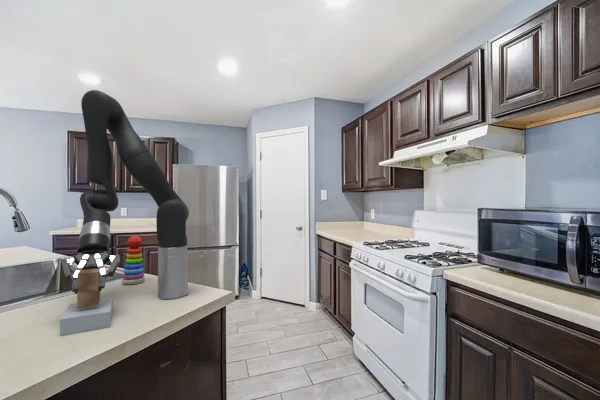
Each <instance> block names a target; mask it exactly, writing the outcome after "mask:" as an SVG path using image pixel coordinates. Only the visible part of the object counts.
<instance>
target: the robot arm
mask: <svg viewBox="0 0 600 400" xmlns="http://www.w3.org/2000/svg"><path fill="white" fill-rule="evenodd" d="M81 112H82V118H83V125H84V131H85V137H86V145H87V146H86V147H87V148H86V149H87V171H86V172H87V174H86V175H87V177H86V179H87V181H88V182H89V183H91V184H94V185H95V184H97V185H100V186H103V187H104V188H105V190H89V189H88V190H85V191H84V192H82V193H81V195H80V197H79V202H80V203H79V204H80V207H81V210H82V214H83V220H82V227H81V230H80V233H79V238H78V243H77V250H76V254H75V255H74V256H73V257H72V258H70V259H67V258H62V259H61V260H60V262H61V266H62V269H63V273H64V277H65V280H66V281H67V282H72V283H71V291H72V293H74V294H75V295H77V292H78V288H77V274H78V273H79V271H82V270H86V269H97V268H98V269H100V276H99V286H98V289H99V291H100V292H102V289H105V288H106V287H105V286H106V280H107V278H108V277H114V275H115V273H116V271H117V269H118V266H119V264H120V262H121V256H120V254H116V255H111V254H110V241H111V229H110V228H111V214H110V213H109V212H113V211H115V210H117V209H118V207H119V197H118V195H117V192H116V188H115V184H114V175H113V174H114V158H113V153H112V150H111V145H110V143H109V139H108V133H109V134H110V135H111V136H112V138H113V139H114V142H115V144H116V148H117V152H118V155H119V158H120V161H121V163H122V164H123V165H124V167H125V168H126V169H127V172H129V174H130V176H131V177H132V178H133V179H134V180H135V181H136V182H137V183H138V184H139V185H140V186H141V187H142V188H143V189H144V190H145V191H146V192H147V193H148V194H149V195H150V196H151V197H152V199H153V200H154V202H155V203H156V205H157V207H158V208H157V210H156V219H155V220H156V240H157V242H158V247H157V251H158V254H157V298H158V299H162V300H171V299H172V300H174V299H177V298H178V299H179V298H182V297H184V296H188V294H189V292H188V291H189V267H188V237H187V223H186V222H187V220H188V219H189V215H190V211H189V208H188V206H187V204H186V203H185V202H184V201H183V200H182V198H180V196H179V195H178V194H177V192H176V191H175V190H174V189H173V187H172V186H171V185H170V182H169V181H168V179H167V177H166V176H165V173H164V172H163V170H162V168H161V166H159V163H158V162H157V160H156V158H154V155H153V154H152V152H151V151H150V150H149V148H148V147H147V145H146V144H145V143H144V141H143V140H142V138H141V137H140V136H139V135H138V133H137V132H136V131H135V129H134V128H133V126H132V124H131V121H129V118H128V116H127V115H126V113H125V110H124V109H123V107H122V105H121V104H120V103H119V101H118V100H117V99H115V98H114V97H112V96H110V95H109V94H107V93H105V92H104V91H101V90H97V89H95V90H94V89H92V90H89V91H86V92H85V93H84V94H83V96H82V98H81ZM109 261H110V266H109V268H108V270H105V266H104V265H106V264H107V263H108V262H109ZM73 264H76V265H77V267H76V269H75V272H74V273H71V270H70V268H71V267H72V266H73Z"/></svg>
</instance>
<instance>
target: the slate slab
mask: <svg viewBox="0 0 600 400" xmlns="http://www.w3.org/2000/svg"><path fill="white" fill-rule="evenodd" d="M113 312H114V297H109V298H100V302H99V305H97V306H90V307H83V308H77V302H73V303H69V305H68V306H67V308H66V309H65V311H64V313H63V314H62V316H61V317H60V319H59V336H60V337H61V336H67V335H74V334H78V333H84V332H89V331H95V330H101V329H105V328H110V326H111V322H112V317H113Z"/></svg>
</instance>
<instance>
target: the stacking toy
mask: <svg viewBox="0 0 600 400" xmlns="http://www.w3.org/2000/svg"><path fill="white" fill-rule="evenodd" d="M142 243H143V239H142V237H140V236H138V235H133V236H130V237H129V238H128V239H127V246H128V249H126V252H127V254H126V259H125V264H124V266H123V268H124V269H123V274H122V280H121V283H122V284H123V285H126V284H127V285H128V286H131V284H133V285H137V284H141V283H143V282H145V272H144V270H145V269H144V267H143V266H144V263H143V261H144V259H143V253H142V248H141V245H143V244H142Z"/></svg>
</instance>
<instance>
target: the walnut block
mask: <svg viewBox="0 0 600 400" xmlns="http://www.w3.org/2000/svg"><path fill="white" fill-rule="evenodd" d="M99 276H100V269H98V268H97V269H86V270H82V271H79V273H78V274H77V288H78V292H77V294H76V296H77V298H76V303H77V308H83V307H90V306H97V305H99V302H100V299H101V291H99V289H98V286H99Z"/></svg>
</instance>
